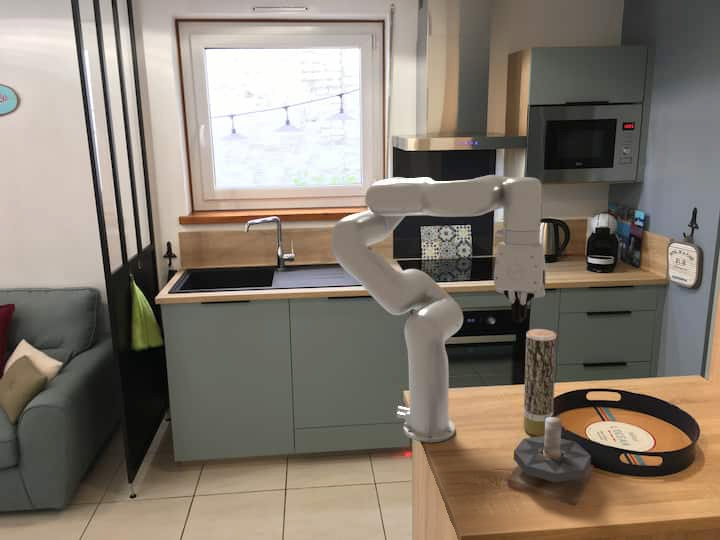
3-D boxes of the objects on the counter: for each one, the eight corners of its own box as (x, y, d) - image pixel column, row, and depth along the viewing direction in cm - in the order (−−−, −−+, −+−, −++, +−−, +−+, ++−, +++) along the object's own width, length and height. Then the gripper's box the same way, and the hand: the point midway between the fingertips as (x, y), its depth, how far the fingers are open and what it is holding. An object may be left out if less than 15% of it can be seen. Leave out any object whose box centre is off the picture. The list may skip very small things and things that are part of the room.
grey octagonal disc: (506, 468, 133) (506, 460, 133) (529, 438, 145) (529, 430, 144) (577, 488, 125) (577, 479, 125) (595, 455, 137) (595, 446, 137)
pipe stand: (507, 485, 134) (508, 426, 131) (529, 454, 145) (531, 400, 142) (575, 505, 127) (578, 443, 123) (593, 471, 138) (596, 414, 135)
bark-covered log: (547, 423, 160) (550, 328, 154) (556, 436, 153) (560, 338, 147) (520, 424, 159) (522, 329, 153) (528, 438, 153) (531, 339, 147)
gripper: (480, 237, 135) (479, 320, 139) (551, 243, 127) (547, 330, 131) (494, 231, 141) (492, 310, 146) (562, 236, 133) (558, 320, 138)
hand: (518, 320), depth 138 cm, fingers closed
